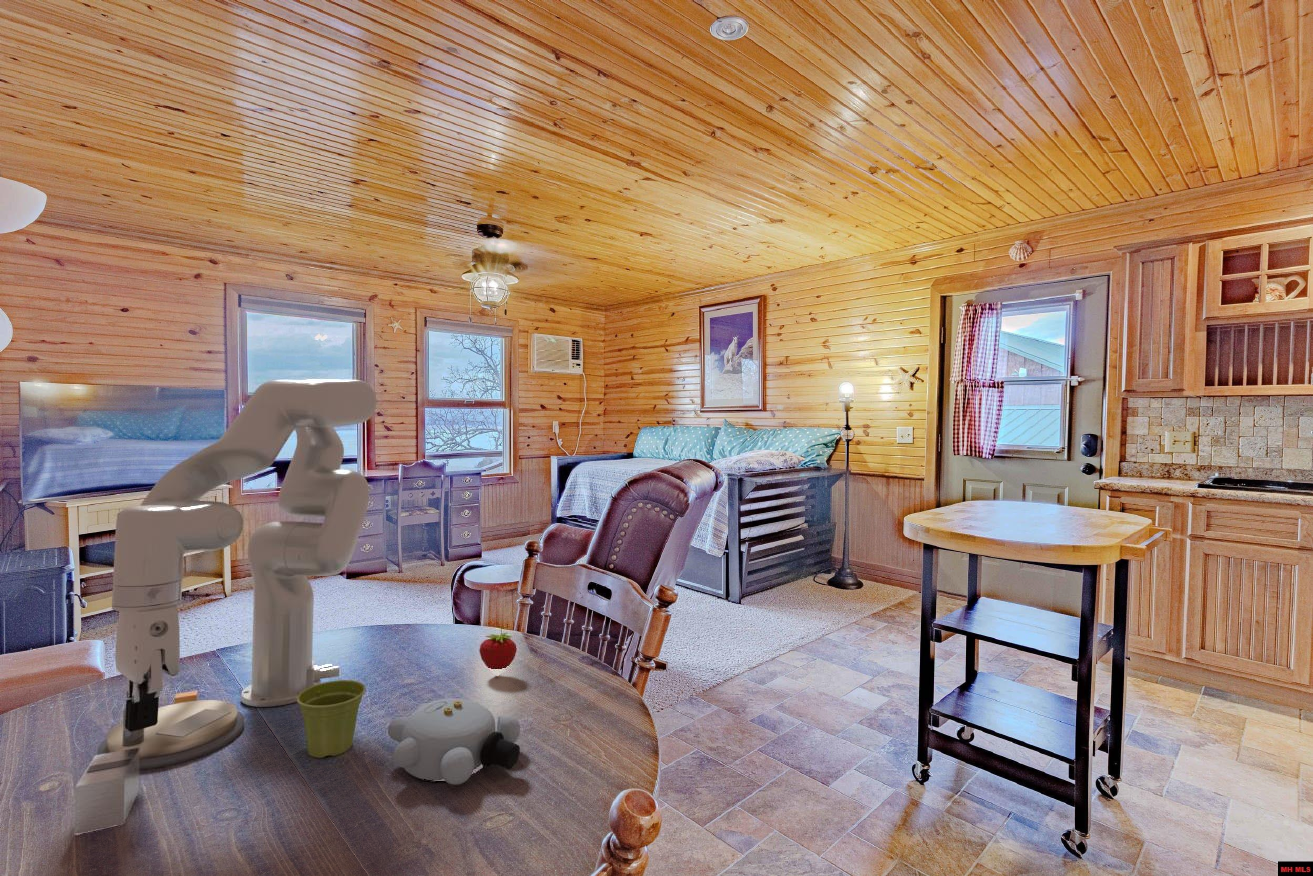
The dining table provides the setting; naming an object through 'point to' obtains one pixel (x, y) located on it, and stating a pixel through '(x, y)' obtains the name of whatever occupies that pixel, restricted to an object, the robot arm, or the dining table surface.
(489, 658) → the strawberry
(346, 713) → the plant pot
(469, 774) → the grey toy figure
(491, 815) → the dining table surface
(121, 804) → the link block
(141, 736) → the turntable
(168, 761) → the turntable base
